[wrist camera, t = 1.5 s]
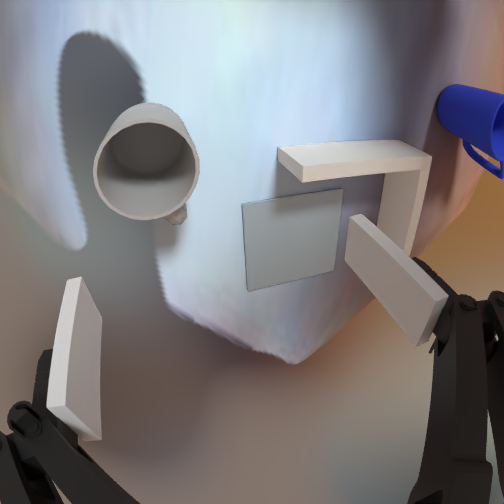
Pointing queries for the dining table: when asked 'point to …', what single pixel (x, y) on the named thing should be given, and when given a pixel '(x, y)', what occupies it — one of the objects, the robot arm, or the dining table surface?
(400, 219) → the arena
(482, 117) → the mug
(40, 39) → the dining table surface
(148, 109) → the cup
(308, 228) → the pad
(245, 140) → the dining table surface
